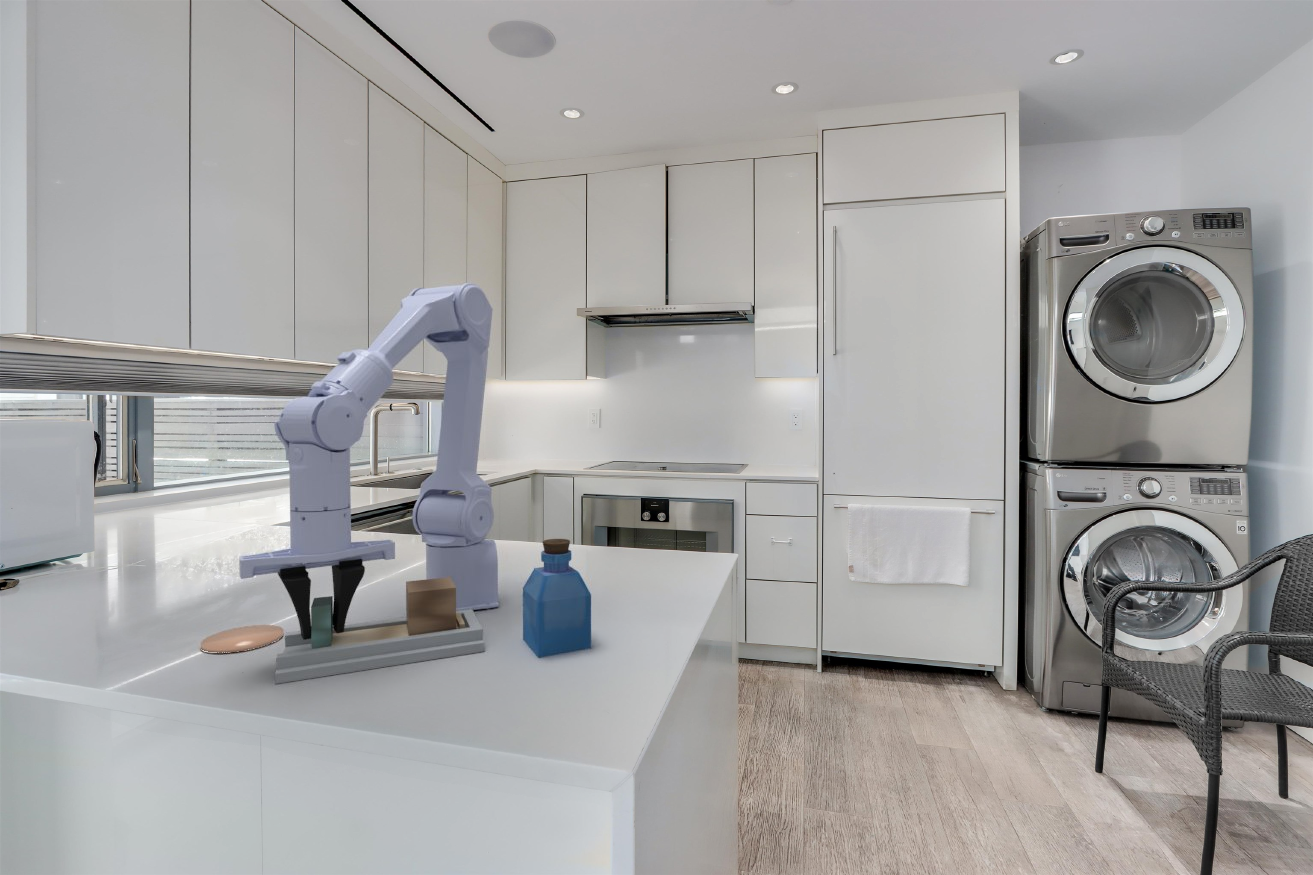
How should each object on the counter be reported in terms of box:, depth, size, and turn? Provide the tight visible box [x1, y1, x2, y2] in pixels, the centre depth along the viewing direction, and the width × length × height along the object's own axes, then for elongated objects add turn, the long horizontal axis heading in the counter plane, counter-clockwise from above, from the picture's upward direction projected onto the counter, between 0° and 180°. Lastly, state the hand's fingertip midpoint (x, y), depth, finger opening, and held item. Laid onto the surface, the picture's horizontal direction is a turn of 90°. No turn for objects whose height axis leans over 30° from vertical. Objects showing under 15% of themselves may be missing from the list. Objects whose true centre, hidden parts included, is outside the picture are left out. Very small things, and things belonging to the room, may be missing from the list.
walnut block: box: [405, 577, 456, 636], centre depth 70 cm, size 5×5×5 cm
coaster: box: [200, 624, 285, 653], centre depth 71 cm, size 8×8×1 cm
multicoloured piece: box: [310, 595, 465, 649], centre depth 68 cm, size 15×5×5 cm, turn 115°
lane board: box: [274, 609, 485, 685], centre depth 68 cm, size 20×10×2 cm, turn 115°
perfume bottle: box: [522, 538, 592, 659], centre depth 70 cm, size 6×6×12 cm
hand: (322, 633), depth 65 cm, fingers closed on multicoloured piece, 2 cm apart
